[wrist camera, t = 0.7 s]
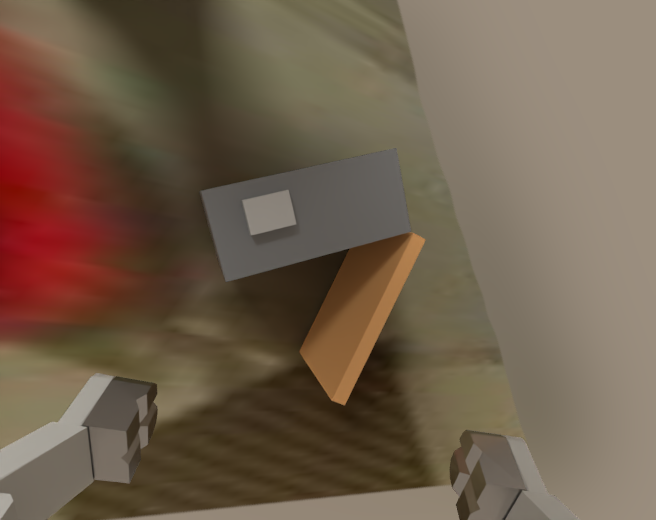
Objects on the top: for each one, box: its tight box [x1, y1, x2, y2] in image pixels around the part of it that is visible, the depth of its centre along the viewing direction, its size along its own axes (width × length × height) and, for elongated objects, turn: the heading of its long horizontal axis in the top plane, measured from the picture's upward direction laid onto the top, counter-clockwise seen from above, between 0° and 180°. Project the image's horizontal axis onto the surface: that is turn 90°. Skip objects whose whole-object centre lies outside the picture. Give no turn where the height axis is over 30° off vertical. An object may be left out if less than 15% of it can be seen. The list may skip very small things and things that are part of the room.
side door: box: [299, 232, 425, 405], centre depth 50 cm, size 3×18×14 cm, turn 153°
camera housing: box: [199, 148, 411, 282], centre depth 46 cm, size 8×19×16 cm, turn 103°
